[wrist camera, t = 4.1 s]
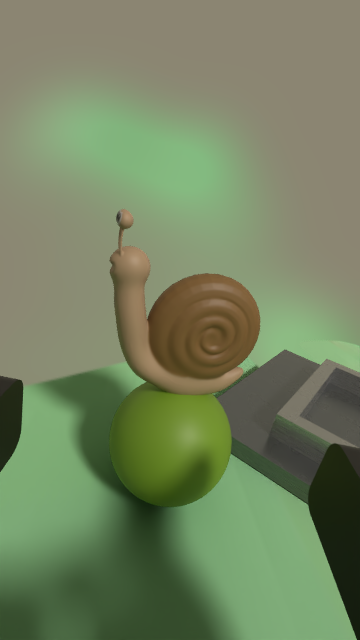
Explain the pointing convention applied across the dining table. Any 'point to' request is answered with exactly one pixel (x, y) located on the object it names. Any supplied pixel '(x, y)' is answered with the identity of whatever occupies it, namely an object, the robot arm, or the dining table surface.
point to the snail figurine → (176, 377)
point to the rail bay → (293, 417)
